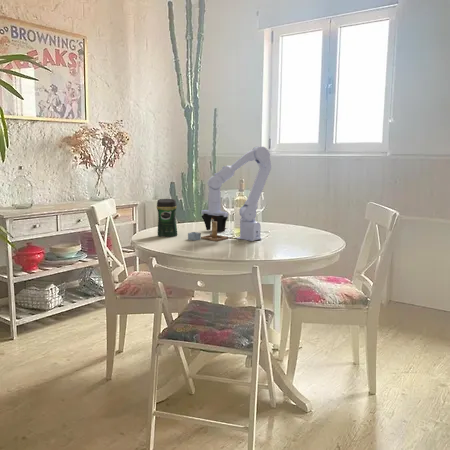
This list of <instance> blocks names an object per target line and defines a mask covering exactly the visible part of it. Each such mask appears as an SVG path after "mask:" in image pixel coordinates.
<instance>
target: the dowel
mask: <svg viewBox="0 0 450 450" xmlns="http://www.w3.org/2000/svg"><path fill="white" fill-rule="evenodd" d="M211 235H212V238H214V239H217V235H218V232H217V222H212V221H211Z"/></svg>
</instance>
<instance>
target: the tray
mask: <svg viewBox="0 0 450 450" xmlns="http://www.w3.org/2000/svg"><path fill="white" fill-rule="evenodd" d="M228 239H229V236H223V235H218V234H217V239H214V238H212V234H209V235H204V236H201V239H200V240H206V241H211V242H221V241H225V240H228Z"/></svg>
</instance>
